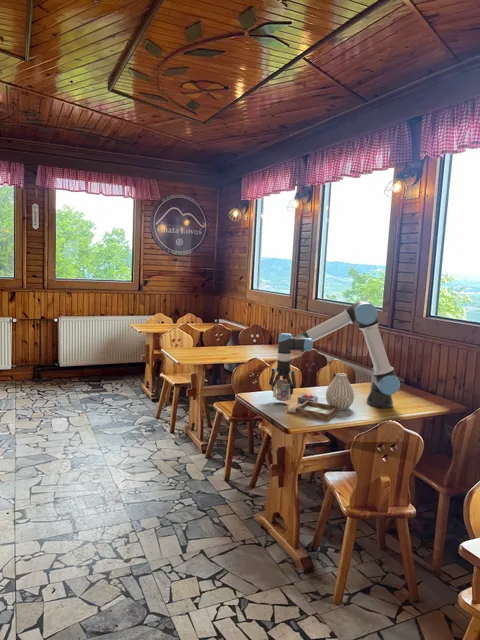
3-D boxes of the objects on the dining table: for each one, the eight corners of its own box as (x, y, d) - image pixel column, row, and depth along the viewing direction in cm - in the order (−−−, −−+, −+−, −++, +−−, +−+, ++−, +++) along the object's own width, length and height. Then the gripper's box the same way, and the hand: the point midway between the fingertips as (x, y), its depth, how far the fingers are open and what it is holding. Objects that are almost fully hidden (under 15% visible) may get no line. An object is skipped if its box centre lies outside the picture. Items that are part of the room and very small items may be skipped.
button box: (317, 403, 276) (317, 396, 275) (312, 406, 268) (312, 400, 267) (302, 400, 280) (303, 393, 280) (297, 403, 272) (297, 397, 272)
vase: (323, 403, 276) (325, 370, 274) (350, 405, 276) (352, 371, 274) (327, 411, 261) (329, 376, 258) (355, 413, 260) (358, 378, 258)
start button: (312, 401, 275) (313, 394, 274) (310, 403, 271) (310, 396, 270) (305, 399, 277) (305, 393, 277) (302, 401, 273) (302, 394, 272)
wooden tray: (337, 412, 259) (338, 406, 259) (327, 421, 243) (328, 414, 243) (298, 405, 270) (299, 398, 269) (286, 412, 254) (287, 406, 253)
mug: (293, 401, 269) (294, 383, 268) (279, 402, 265) (280, 384, 264) (282, 395, 280) (284, 378, 278) (269, 396, 276) (270, 379, 274)
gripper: (303, 361, 267) (301, 399, 270) (269, 356, 277) (267, 393, 280) (299, 363, 261) (297, 402, 263) (264, 358, 271) (262, 396, 273)
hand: (282, 398), depth 272 cm, fingers closed on mug, 9 cm apart
